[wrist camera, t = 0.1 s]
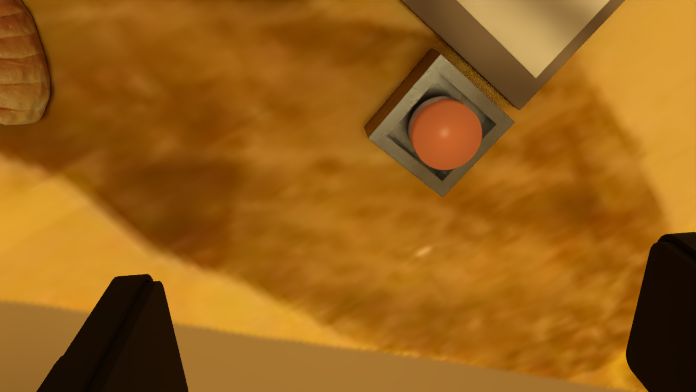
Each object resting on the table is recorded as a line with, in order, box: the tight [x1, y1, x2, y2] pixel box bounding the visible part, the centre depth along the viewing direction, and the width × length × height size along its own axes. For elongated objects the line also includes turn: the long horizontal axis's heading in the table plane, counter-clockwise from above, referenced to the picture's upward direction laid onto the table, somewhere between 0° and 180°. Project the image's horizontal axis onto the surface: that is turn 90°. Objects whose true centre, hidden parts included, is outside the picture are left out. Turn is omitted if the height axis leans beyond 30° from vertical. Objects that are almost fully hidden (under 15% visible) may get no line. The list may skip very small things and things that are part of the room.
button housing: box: [364, 48, 515, 197], centre depth 39 cm, size 8×8×3 cm
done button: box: [408, 96, 482, 170], centre depth 37 cm, size 5×5×2 cm
